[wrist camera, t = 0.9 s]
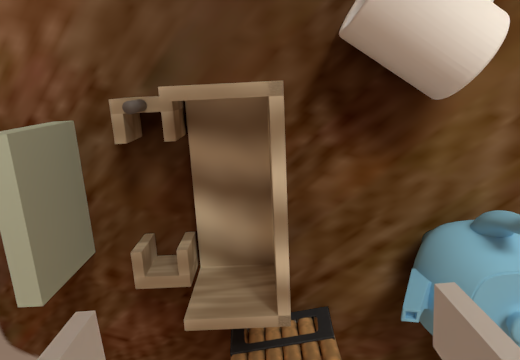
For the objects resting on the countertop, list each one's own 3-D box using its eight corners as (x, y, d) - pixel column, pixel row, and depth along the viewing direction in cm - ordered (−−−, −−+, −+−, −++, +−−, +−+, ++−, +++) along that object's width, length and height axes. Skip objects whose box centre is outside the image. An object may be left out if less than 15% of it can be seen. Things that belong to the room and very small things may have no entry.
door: (42, 122, 37) (-36, 136, 27) (73, 120, 36) (6, 134, 27) (67, 253, 40) (5, 307, 30) (95, 251, 40) (43, 306, 30)
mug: (417, 99, 36) (461, 103, 28) (330, 40, 35) (350, 28, 27) (501, -20, 34) (573, -52, 26) (409, -88, 32) (457, -142, 25)
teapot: (357, 254, 40) (394, 320, 29) (467, 169, 38) (553, 205, 27) (441, 349, 43) (504, 441, 32) (548, 275, 40) (656, 347, 30)
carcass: (125, 88, 36) (76, 90, 26) (276, 81, 36) (283, 80, 26) (150, 273, 40) (115, 333, 31) (283, 267, 40) (291, 326, 30)
